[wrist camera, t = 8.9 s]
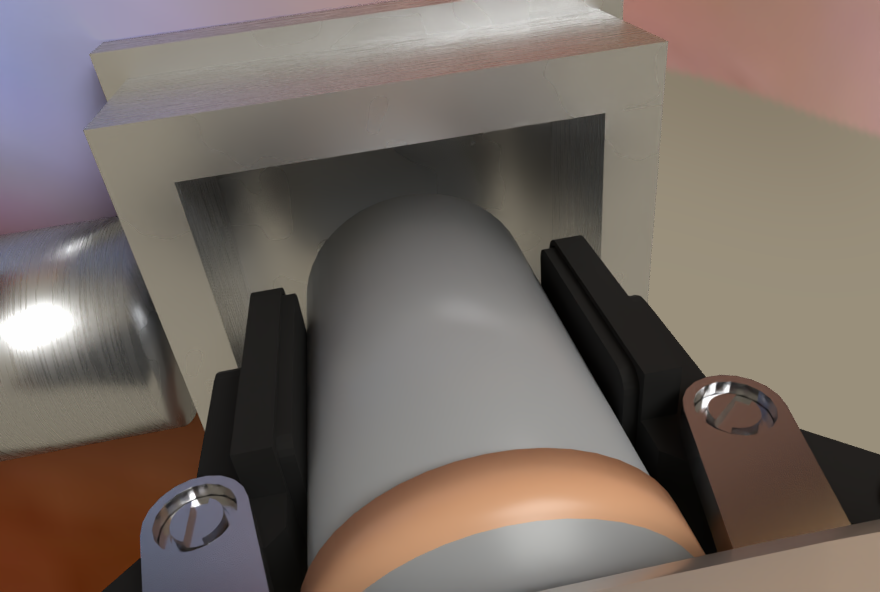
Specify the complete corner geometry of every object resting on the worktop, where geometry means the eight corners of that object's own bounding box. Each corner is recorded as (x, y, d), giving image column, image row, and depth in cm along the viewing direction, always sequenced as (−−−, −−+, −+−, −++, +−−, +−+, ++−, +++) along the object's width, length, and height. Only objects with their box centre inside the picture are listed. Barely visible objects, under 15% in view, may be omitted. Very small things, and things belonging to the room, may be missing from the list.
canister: (527, 169, 12) (787, 519, 6) (534, 364, 15) (720, 765, 8) (276, 211, 12) (240, 639, 5) (326, 404, 14) (345, 859, 8)
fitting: (605, -29, 14) (714, 7, 10) (594, 355, 19) (663, 470, 16) (-232, 89, 12) (-458, 181, 9) (12, 467, 18) (-64, 622, 14)
